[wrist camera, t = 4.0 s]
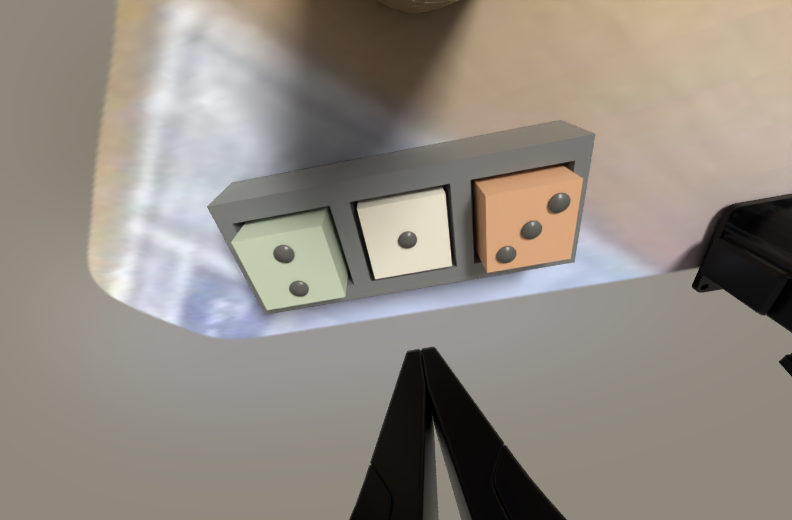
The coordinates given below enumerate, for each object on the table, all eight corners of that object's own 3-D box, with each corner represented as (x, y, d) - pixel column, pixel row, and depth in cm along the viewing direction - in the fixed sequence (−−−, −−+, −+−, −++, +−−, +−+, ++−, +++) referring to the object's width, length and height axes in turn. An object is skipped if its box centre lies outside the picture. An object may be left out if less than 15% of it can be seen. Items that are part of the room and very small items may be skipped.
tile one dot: (436, 174, 17) (445, 194, 14) (443, 241, 19) (452, 267, 17) (359, 188, 17) (356, 210, 15) (375, 253, 19) (375, 280, 17)
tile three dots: (554, 160, 15) (584, 179, 13) (547, 233, 18) (571, 259, 15) (470, 176, 16) (486, 197, 13) (473, 246, 18) (487, 274, 16)
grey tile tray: (561, 120, 16) (595, 133, 14) (549, 234, 20) (574, 262, 17) (231, 182, 17) (207, 206, 14) (278, 281, 21) (265, 314, 18)
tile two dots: (328, 202, 16) (321, 227, 14) (348, 268, 18) (345, 298, 16) (249, 216, 16) (230, 243, 14) (279, 280, 18) (266, 311, 16)
